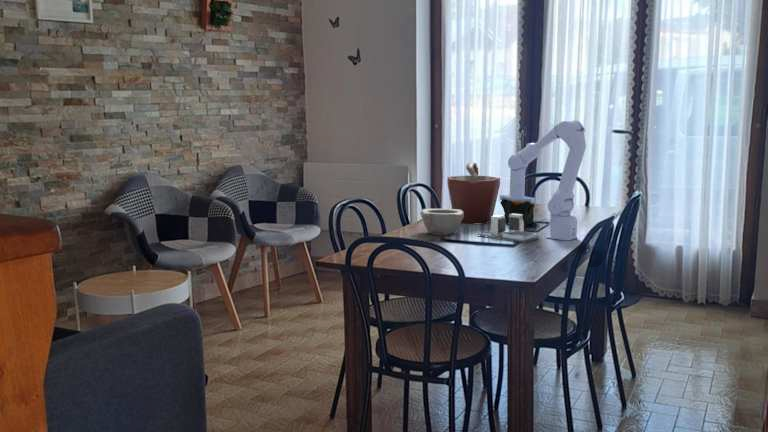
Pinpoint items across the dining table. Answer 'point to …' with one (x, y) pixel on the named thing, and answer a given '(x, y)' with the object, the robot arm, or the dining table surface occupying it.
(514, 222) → the white matte cuboid
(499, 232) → the grey hollow box
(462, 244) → the dining table surface
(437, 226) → the mortar
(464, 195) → the bucket
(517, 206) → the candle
